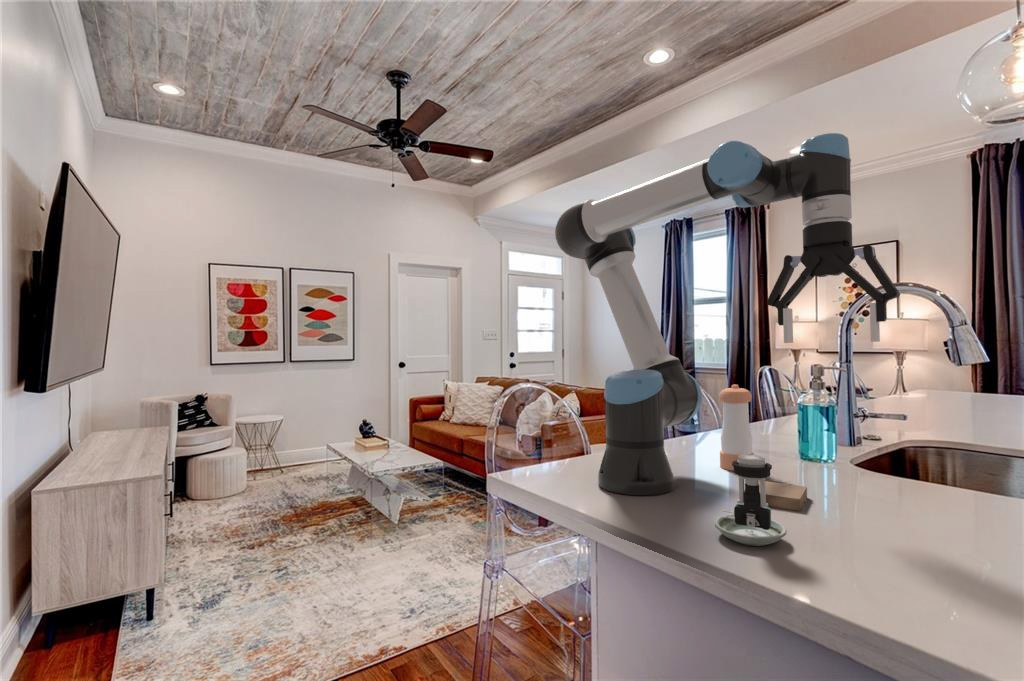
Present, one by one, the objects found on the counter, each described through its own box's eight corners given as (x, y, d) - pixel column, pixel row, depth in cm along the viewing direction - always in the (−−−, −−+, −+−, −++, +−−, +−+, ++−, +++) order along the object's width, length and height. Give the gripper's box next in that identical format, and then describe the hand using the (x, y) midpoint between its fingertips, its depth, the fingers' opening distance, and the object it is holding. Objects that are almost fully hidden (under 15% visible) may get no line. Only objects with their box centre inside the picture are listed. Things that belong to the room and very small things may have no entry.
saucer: (702, 531, 79) (702, 515, 79) (759, 526, 81) (759, 511, 81) (738, 556, 70) (738, 539, 70) (802, 551, 71) (802, 533, 71)
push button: (720, 525, 75) (719, 457, 75) (727, 515, 80) (726, 451, 80) (770, 534, 71) (769, 463, 72) (775, 522, 76) (773, 455, 76)
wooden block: (743, 502, 92) (743, 491, 92) (754, 489, 99) (754, 479, 99) (800, 510, 87) (799, 499, 87) (807, 497, 94) (806, 486, 94)
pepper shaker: (744, 463, 121) (742, 383, 121) (760, 470, 114) (758, 385, 114) (714, 464, 121) (712, 383, 121) (729, 472, 113) (727, 386, 113)
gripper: (747, 233, 98) (749, 343, 97) (909, 205, 79) (913, 341, 79) (762, 238, 103) (764, 343, 103) (918, 213, 85) (921, 340, 84)
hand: (829, 342), depth 91 cm, fingers open, 13 cm apart
